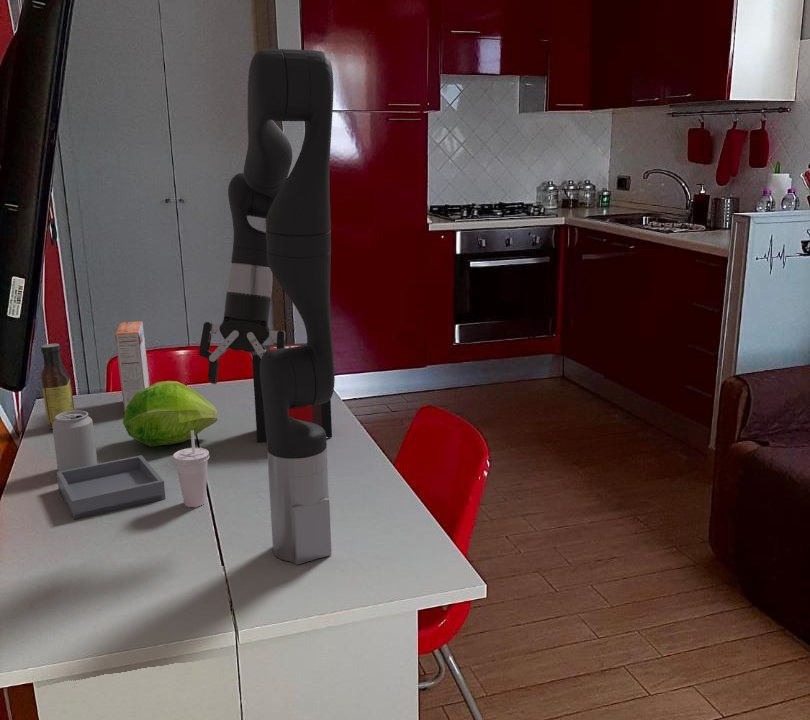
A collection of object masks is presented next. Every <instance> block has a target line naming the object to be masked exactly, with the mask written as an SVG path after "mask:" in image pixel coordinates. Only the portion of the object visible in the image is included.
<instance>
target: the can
mask: <svg viewBox="0 0 810 720" xmlns="http://www.w3.org/2000/svg"><path fill="white" fill-rule="evenodd" d="M55 419H56V420H55V421H54V423H53V424H52V428H53V430H52V434H53V443H54V450H55V458H56V467H57V470H58V471H57V472H59V471H64V470H69V469H74V468H79V467H84V466H89V465H94V464H98V458H97V457H98V456H97V449H96V448H97V447H96V439H95V431H94V423H93V422H94V421H93V419H92V418H91V417H90V416H89V413H88V412H87V411H85V410H75V411H68V412H63V413H60V414H58V415H56V416H55Z"/></svg>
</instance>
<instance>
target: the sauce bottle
mask: <svg viewBox="0 0 810 720" xmlns="http://www.w3.org/2000/svg"><path fill="white" fill-rule="evenodd" d="M40 351H41V354H42V357H43V369H42V371H41V373H40V380H41V388H42V390H41V391H42V396H43V402H44V406H45V407H44V408H45V414H46V415H45V417H46V421H47V424H48V425H47V426H48V428H49V429H50V430H52V429H53V428H52V424H53V423H54V421H55V420H56V419H55V416H56V415H58V414H60V413H63V412H68V411H76V409H75V404H74V403H75V402H74V397H73V389H72V383H71V378H70V377H71V376H70V375H69V373H68V371H67V369H66V367H65V366H64V363H63V361H62V356H61V345H60V344H59V343H48V344H47V343H46V344H44V345H40Z"/></svg>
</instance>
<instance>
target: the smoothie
mask: <svg viewBox="0 0 810 720" xmlns="http://www.w3.org/2000/svg"><path fill="white" fill-rule="evenodd" d="M190 440H191V447H187V448H184V449H183V448H182V449H179V450H178V451H176V452H174V453H173V454H172V462H173V463H174V464H175V468H176V472H177V476H178V481H179V486H180V490H181V495H182V498H183V499H182V500H183V503H184V506H185V507H186V506H187V508H190V507H195V508H199V507H198V506H200V507H202V506H204V505H205V504H206V500H207V499H206V498H207V480H208V479H207V478H208V460H209V459H210V457H211V456H210V452H209V450H208V449H206V448H202V447H196V444H195V441H196V439H195V436H194V430H191V438H190ZM203 504H204V505H203ZM201 505H202V506H201Z"/></svg>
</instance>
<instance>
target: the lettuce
mask: <svg viewBox="0 0 810 720" xmlns="http://www.w3.org/2000/svg"><path fill="white" fill-rule="evenodd" d="M218 418H219V417H218V410H217V408H216V407H215V406H214V405H213V404H212V403H210V401H208V400H207V399H206V398H205V397H203V395H201V394H200V393H199V392H197V391H196V390H194V389H193V388H191V387H190V386H188V385H185V384H184V383H181V382H179V381H176V380H175V381H174V380H166V381H157V382H155V383H153V384H151V385H150V386H149V387H147V388H145V389H143V390H141V391H139V392H137V393H136V394H135V396H134V397H133V398H132V400H131V401H130V403H129V404H128V405H127V407H126V411H125V413H124V417H123V420H122V424H123V426H124V428H125V430H126V432H127V435H128V436H129V437H131V438H133V439H135V441H138V442H140V443H142V444H144V445H146V446H148V447H152V448H153V447H159V446H167V445H174V444H180V443H183V442H186V441H188V440H191V430H194V437H196V435H198V434H199V433H201V432H202V431H203V430H205V429H206V428H208V427H210V426H212V425H213V424H215V423H217V422H218V420H219V419H218Z"/></svg>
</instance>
